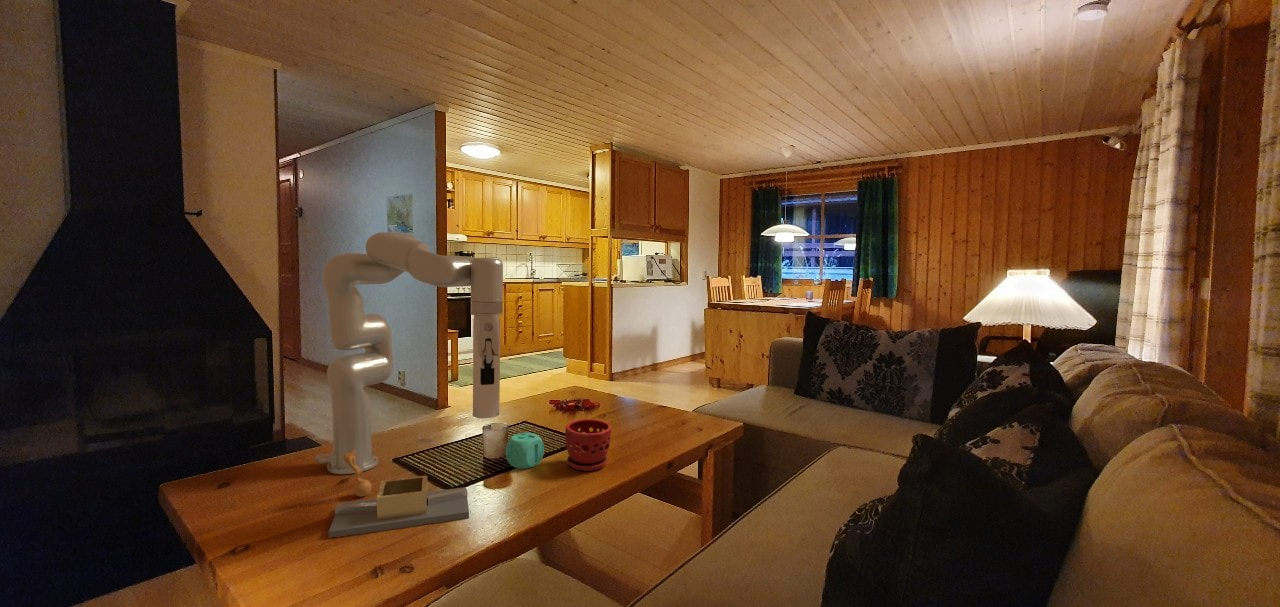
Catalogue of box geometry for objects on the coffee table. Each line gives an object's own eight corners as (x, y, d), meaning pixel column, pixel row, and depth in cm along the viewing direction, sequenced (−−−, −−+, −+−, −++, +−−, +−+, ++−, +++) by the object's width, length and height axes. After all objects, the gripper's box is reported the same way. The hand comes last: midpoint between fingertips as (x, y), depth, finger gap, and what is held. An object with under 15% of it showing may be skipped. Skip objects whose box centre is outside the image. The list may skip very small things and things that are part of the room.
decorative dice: (526, 471, 148) (526, 443, 148) (504, 465, 152) (504, 438, 152) (544, 462, 155) (544, 435, 155) (523, 457, 159) (523, 430, 159)
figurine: (374, 500, 129) (373, 452, 128) (346, 506, 125) (345, 456, 124) (369, 487, 136) (368, 442, 135) (342, 493, 132) (341, 446, 131)
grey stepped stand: (329, 527, 112) (329, 504, 112) (338, 506, 122) (337, 485, 121) (468, 507, 122) (468, 486, 122) (466, 490, 132) (466, 470, 131)
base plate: (328, 538, 111) (328, 531, 111) (340, 509, 124) (340, 503, 124) (468, 518, 121) (468, 511, 121) (466, 492, 134) (465, 487, 134)
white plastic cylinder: (492, 419, 127) (492, 316, 125) (467, 417, 129) (467, 315, 127) (504, 412, 134) (505, 313, 132) (480, 409, 135) (481, 312, 133)
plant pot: (556, 470, 150) (556, 428, 149) (579, 454, 162) (579, 416, 161) (598, 477, 145) (598, 435, 144) (617, 461, 157) (618, 421, 156)
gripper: (506, 312, 122) (505, 388, 124) (498, 305, 138) (498, 373, 140) (472, 312, 120) (472, 390, 121) (468, 305, 136) (468, 374, 137)
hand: (486, 380), depth 131 cm, fingers closed on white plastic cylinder, 5 cm apart
